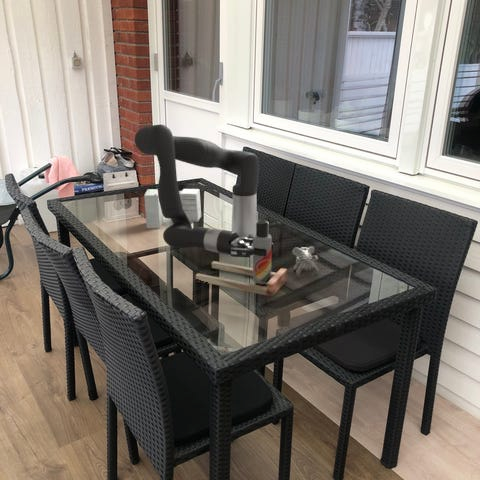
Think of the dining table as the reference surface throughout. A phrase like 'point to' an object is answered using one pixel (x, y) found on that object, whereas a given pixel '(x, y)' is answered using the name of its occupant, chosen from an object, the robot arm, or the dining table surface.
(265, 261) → the lotion bottle
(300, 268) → the elephant statuette
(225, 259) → the dining table surface
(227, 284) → the guide lane
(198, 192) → the supplement box
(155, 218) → the skincare box
